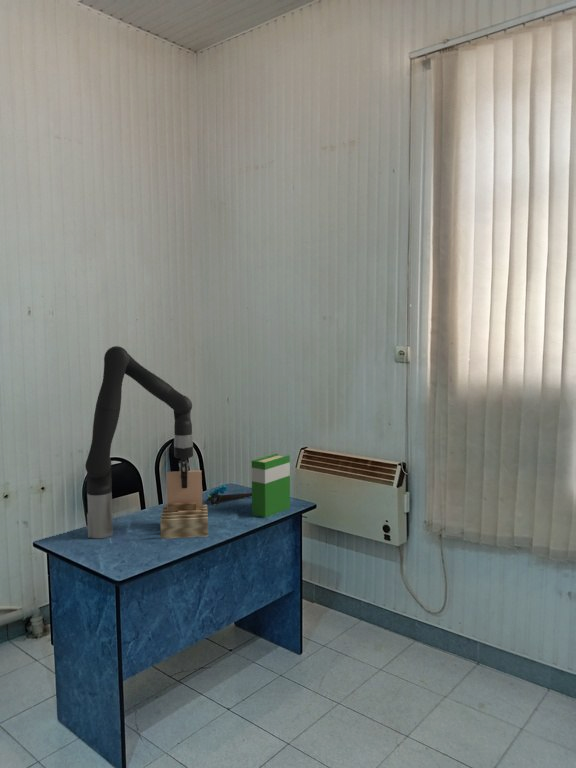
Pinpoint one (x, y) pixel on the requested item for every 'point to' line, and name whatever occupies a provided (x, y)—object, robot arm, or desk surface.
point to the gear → (218, 491)
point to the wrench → (227, 497)
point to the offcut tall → (181, 507)
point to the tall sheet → (184, 494)
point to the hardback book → (270, 485)
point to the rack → (184, 524)
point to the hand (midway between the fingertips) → (184, 487)
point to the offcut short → (189, 512)
